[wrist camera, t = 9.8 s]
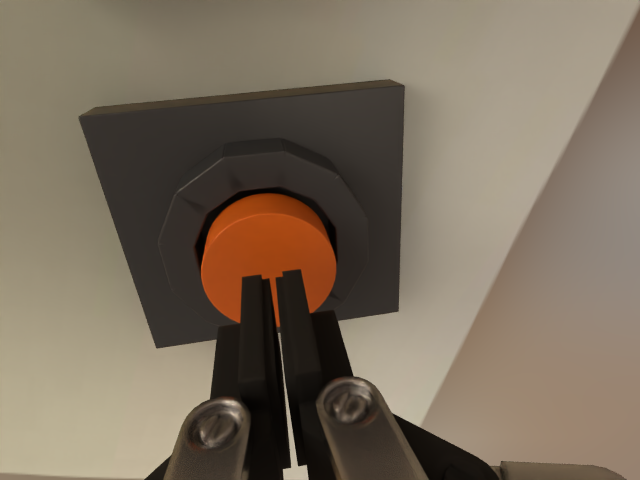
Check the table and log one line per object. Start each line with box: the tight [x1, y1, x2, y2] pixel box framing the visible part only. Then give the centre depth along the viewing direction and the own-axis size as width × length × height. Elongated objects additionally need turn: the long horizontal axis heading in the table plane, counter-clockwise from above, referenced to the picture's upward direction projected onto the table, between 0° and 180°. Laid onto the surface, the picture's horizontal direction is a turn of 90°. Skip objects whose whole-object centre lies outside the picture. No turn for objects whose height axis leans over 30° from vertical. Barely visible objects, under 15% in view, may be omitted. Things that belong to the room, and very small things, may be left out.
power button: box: [201, 193, 336, 327], centre depth 14 cm, size 4×4×2 cm
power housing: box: [79, 79, 405, 348], centre depth 16 cm, size 11×10×4 cm
